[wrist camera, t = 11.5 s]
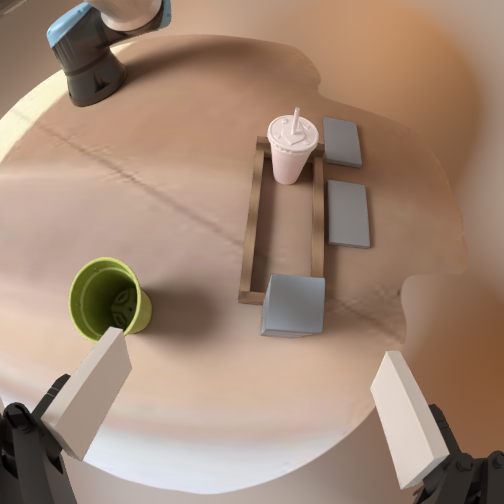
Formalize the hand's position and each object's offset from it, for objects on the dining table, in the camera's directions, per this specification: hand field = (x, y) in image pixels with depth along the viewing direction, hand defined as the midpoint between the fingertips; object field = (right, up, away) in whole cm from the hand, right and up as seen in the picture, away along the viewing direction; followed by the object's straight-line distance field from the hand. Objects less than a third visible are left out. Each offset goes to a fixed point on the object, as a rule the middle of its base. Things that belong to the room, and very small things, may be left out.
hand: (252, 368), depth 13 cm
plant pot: (-16, -2, +22) cm, 27 cm away
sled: (+4, +8, +25) cm, 27 cm away
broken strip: (+14, +18, +29) cm, 37 cm away
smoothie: (+5, +17, +29) cm, 34 cm away
